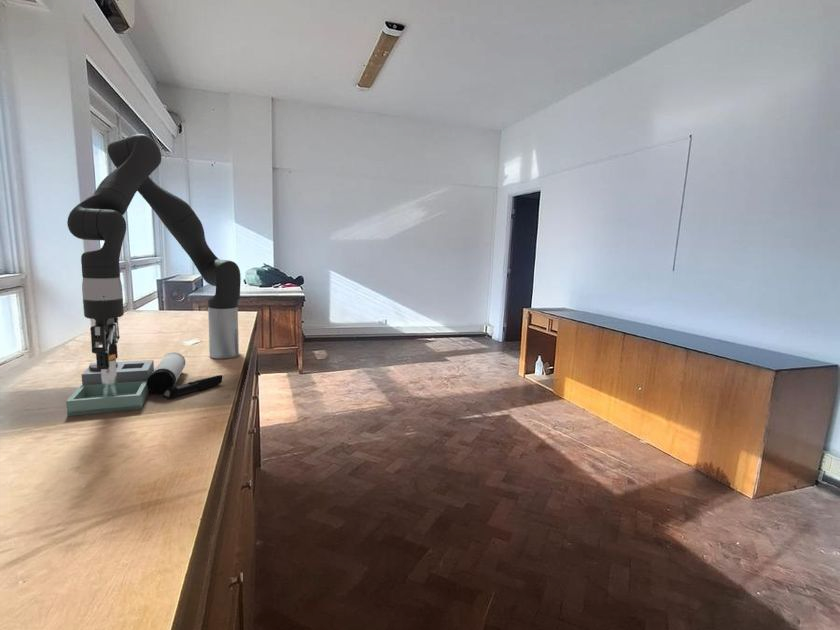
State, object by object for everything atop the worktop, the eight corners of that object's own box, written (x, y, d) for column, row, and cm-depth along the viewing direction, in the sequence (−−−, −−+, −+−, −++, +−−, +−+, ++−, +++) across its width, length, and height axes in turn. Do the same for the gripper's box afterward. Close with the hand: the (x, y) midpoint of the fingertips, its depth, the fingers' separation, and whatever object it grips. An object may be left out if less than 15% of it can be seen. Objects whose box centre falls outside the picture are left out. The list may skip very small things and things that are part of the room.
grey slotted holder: (154, 380, 122) (153, 355, 121) (148, 392, 113) (147, 365, 112) (94, 384, 116) (92, 358, 115) (83, 397, 107) (80, 369, 106)
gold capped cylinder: (119, 397, 106) (116, 353, 104) (116, 401, 103) (113, 356, 102) (104, 398, 105) (101, 353, 103) (101, 402, 102) (98, 357, 100)
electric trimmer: (225, 386, 121) (225, 375, 121) (169, 401, 108) (169, 389, 108) (217, 383, 123) (217, 373, 123) (161, 397, 110) (161, 385, 110)
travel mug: (190, 356, 130) (179, 376, 112) (179, 375, 130) (166, 399, 112) (169, 347, 128) (154, 367, 110) (158, 367, 128) (141, 389, 109)
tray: (148, 393, 112) (147, 380, 111) (140, 409, 102) (140, 395, 102) (82, 398, 106) (81, 385, 106) (67, 416, 96) (66, 401, 96)
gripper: (115, 301, 95) (120, 371, 98) (128, 292, 108) (132, 355, 110) (73, 301, 92) (79, 374, 95) (91, 292, 105) (96, 357, 107)
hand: (108, 363), depth 103 cm, fingers open, 8 cm apart
